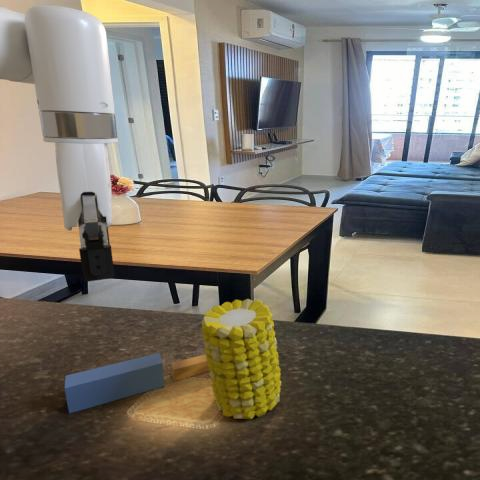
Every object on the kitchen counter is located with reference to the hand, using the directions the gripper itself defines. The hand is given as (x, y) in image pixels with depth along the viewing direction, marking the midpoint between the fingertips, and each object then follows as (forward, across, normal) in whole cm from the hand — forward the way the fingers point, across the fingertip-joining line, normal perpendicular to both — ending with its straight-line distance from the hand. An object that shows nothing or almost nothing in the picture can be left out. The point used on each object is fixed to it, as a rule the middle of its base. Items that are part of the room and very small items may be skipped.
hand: (98, 266), depth 50 cm
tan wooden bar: (+19, 0, +14) cm, 24 cm away
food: (+20, +10, +16) cm, 27 cm away
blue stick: (+20, 0, 0) cm, 20 cm away
